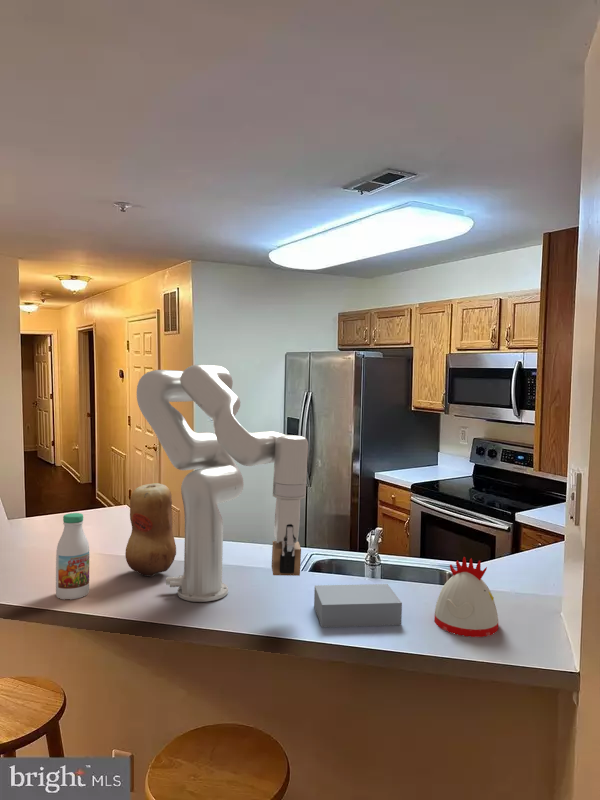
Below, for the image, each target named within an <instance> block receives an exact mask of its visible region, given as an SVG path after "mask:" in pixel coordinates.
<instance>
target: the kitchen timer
mask: <svg viewBox="0 0 600 800" xmlns="http://www.w3.org/2000/svg"><path fill="white" fill-rule="evenodd" d="M481 563H482V562H481V560H478V561H477V564H476V567H474V563H473V559H472V557H471V558H470V559H469V562H468V564H467V560H466V557H465V556H463V558H462V562H461V563H460V562H459V560H456V561H455V564H456V569H455V568H454V566H453V564H450V565H449V570H450V572H451V573H452V576H451V577H450V578H449V579H447V581H446V582H445V583H444V585H443V586H442V587H441V590H440V592H439V595H438V598H437V601H436V604H435V609H434V621H433V622H434V623H435V624H436V626H437V625H438V627H439V628H440V629H441V630H443V631H445V630H446V632H447V631H448V633H450V632H451V634H453V633H455V634H454V635H457V634H458V636H462V635H464V636H463V637H468V636H471V637H472V638H483V637H484V636H485V637H489V636H493V635H494V634H496V633H497V632H498V631H499V615H498V609H497V607H496V606H497V605H496V602H495V598H494V596H493V593H492V592H491V590H490V588H489V587H488V585H487V583H486V582H485V581H484V580H483V579H482V578H483V576H484V575H485V573H486V571H487V568H488V567H487V566H486V567H485V568H484V569H483V570H481V569H482V567H481ZM495 632H496V633H495ZM493 633H494V634H493ZM488 635H489V636H488ZM471 637H470V638H471Z"/></svg>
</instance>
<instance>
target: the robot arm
mask: <svg viewBox="0 0 600 800" xmlns="http://www.w3.org/2000/svg"><path fill="white" fill-rule="evenodd" d="M232 389H233V377H232V374H231V373H230V372H229V370H227V368H225V367H223V366H221V365H217V364H215V365H213V364H194V365H193V364H192V365H190V366H187V368H185V369H184V370H178V369H177V370H176V369H175V370H174V369H156V370H150V371H148V372H146V373H144V374H143V375H141V377H140V379H139V380H138V382H137V386H136V403H137V405H138V408H139V410H140V412H141V414H142V416H143V417H144V418H145V421H146V422H147V423H148V425H149V426H150V427H151V428H152V430H153V432H154V434H155V435H156V438H157V439H158V441H159V443H160V445H161V446H162V449H163V451H164V452H165V454H166V456H167V458H168V460H169V461H170V463H171V464H172V466H173V467H174V469H176V470H178V471H191V472H189V473H188V474H187V475H185V477H183V480H182V482H181V486H180V493H181V498H182V504H183V512H184V513H183V514H184V549H183V551H184V552H183V553H184V555H183V556H184V560H183V561H184V563H183V567H184V569H183V573H182V575H179V576H166V578H165V585H168V586H169V587H170V588H176V587H178V588H177V596H178V597H179V598H180V599H182V600H185V601H188V602H194V603H196V602H197V603H198V602H199V603H204V602H212V601H217V600H220V599H222V598H224V597H225V596H227V595H228V593H229V587H228V585H227V584H226V583H224V582H223V554H224V553H223V551H224V550H223V547H224V545H223V544H224V541H223V540H224V532H223V531H224V522H223V517H222V514H221V512H220V510H219V507H218V505H220V504H223V503H227V502H230V501H233V500H235V499H237V498H239V496H241V494H242V492H243V490H244V478H243V474H242V473H241V470H240V469H239V466H238V465H237V463H238V464H239V465H241V466H245V467H254V466H259V465H268V464H273V479H272V480H273V483H272V497H274V498H276V500H275V501H276V502H275V512H274V523H273V524H274V527H273V535H274V539H275V540H274V541H276V542H277V543H279V542H282V555H280V573H294V565H295V555H294V550H295V543H296V542H297V541H298V542H299V532H300V519H301V500H303V499H306V496H307V495H306V494H307V474H308V458H309V457H308V455H309V453H308V452H309V442H308V439H307V438H306V437H305V436H302V435H295V434H294V435H293V434H284V433H281V432H277V431H273V430H268V431H256V432H255V431H254V432H249V431H248V430H247V429H246V428H245V427H244V426H243V425H242V424H240V422H239V421H238V420H237V419H236V417H235V416H236V415H237V413H238V412H239V410H240V407H241V400H240V398H239V396H238V395H237V394H236V393H234V391H232ZM177 402H178V403H179V402H183V403H184V402H185V403H186V402H194V403H195V404H196V405H197V406H198V407H199V408H200V409H201V410H202V411H203V412H204V413H205V414H206V416H207V417H208V418H210V419H211V421H212V423H213V425H212V426H213V432H214V433H212V432H210V431H200V432H199V431H198V432H196V431H193V429H192V428H191V427H190V425H189V424H188V422H187V420H186V418H185V417H184V415H183V414H182V413H181V412H180V411H179V410H178V409H177V408H175V407H174V406H173V405H171V403H177ZM285 544H287V546H285Z"/></svg>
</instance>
